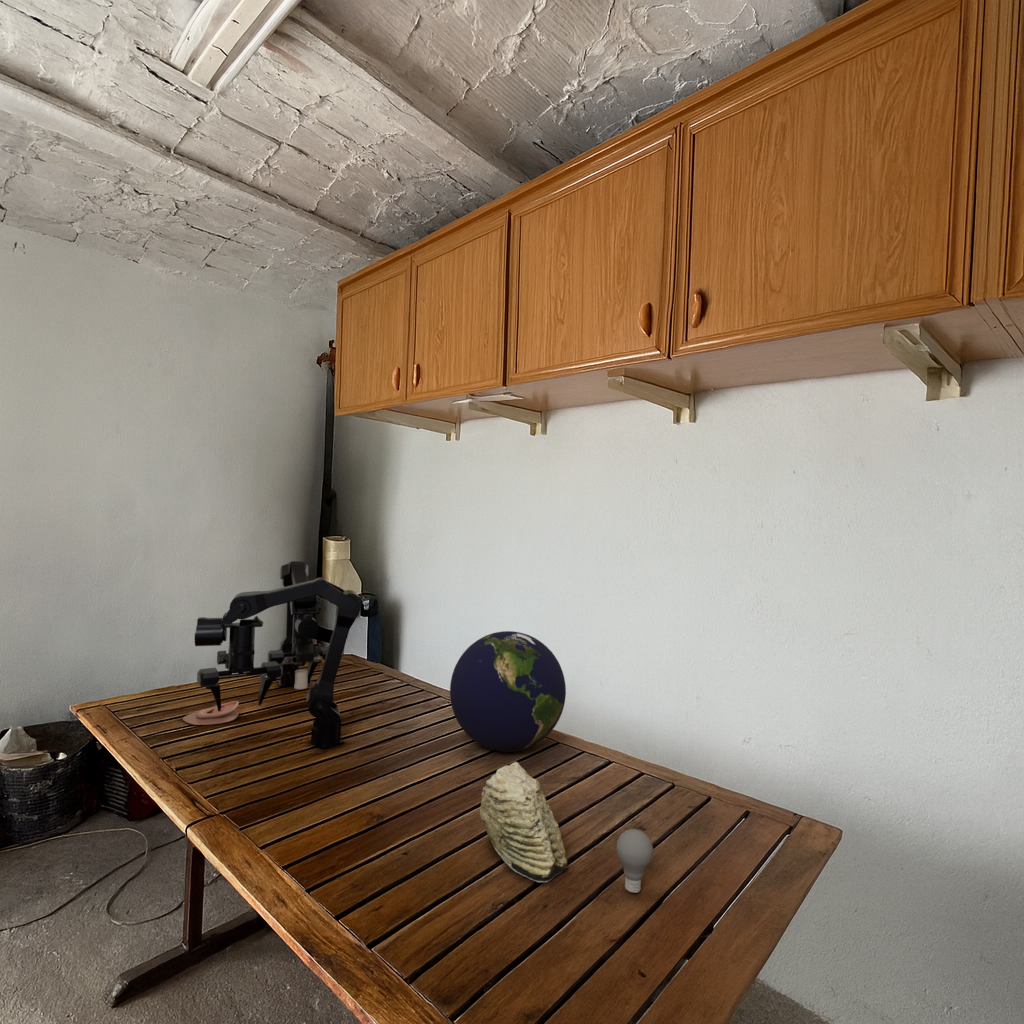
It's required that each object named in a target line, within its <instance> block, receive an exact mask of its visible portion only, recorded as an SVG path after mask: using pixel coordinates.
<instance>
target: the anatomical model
mask: <svg viewBox="0 0 1024 1024" xmlns="http://www.w3.org/2000/svg"><path fill="white" fill-rule="evenodd" d="M239 705H240V702H239V701H238V700H235V701H229V702H225V703H221V711H218V708H217V705H214V706H211V707H208V708H204V709H203V708H202V709H200V710H198V711H195V712H193V713H189V714H187V715H185V716H183V718H182V721H184V722H185V723H187V724H190V725H195V726H207V725H217V724H218V725H219V724H224V723H229V722H232V721H234V720H235V719H237V718H238V716H239V712H238V711H236V710H237V709H238V707H239Z"/></svg>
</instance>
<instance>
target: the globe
mask: <svg viewBox="0 0 1024 1024" xmlns="http://www.w3.org/2000/svg"><path fill="white" fill-rule="evenodd" d="M563 671H564V670H562V666H561V664H560V662H559V660H558V659H557V657H556V656H555V654H554V652H553V651H552V650H551V649H550V648H549V647H548V646H546V644H544V643H543V642H542V641H540V640H539V639H537V637H534V636H532V635H530V634H527V633H523V632H519V631H511V630H509V631H508V630H505V631H496V632H492V633H489V634H485V635H484V636H483V637H480V638H479V639H477V640H476V641H474V642H473V643H471V644H470V645H469V646H468V647H467V648H466V649H465V650H464V651H463V652H462V654H461V655H460V656H459V659H458V660H457V662H456V664H455V666H454V669H453V672H452V675H451V679H450V683H449V684H450V685H449V699H450V704H451V709H452V712H453V714H454V718H455V719H456V721H457V723H458V725H459V726H460V728H461V729H462V731H464V732H465V734H466V735H467V736H468V737H469V738H471V739H472V740H473V741H474V742H476V743H477V744H478V745H480V746H481V747H485V748H487V749H489V750H493V751H496V752H504V753H509V752H510V753H511V752H519V751H524V750H526V749H529V748H531V747H534V746H535V745H537V744H538V743H540V742H542V741H543V740H544V739H545V738H546V737H547V736H549V734H550V733H551V732H552V731H553V730H554V728H555V727H556V726H557V724H558V723H559V721H560V719H561V717H562V713H563V711H564V708H565V703H566V695H567V686H566V679H565V676H564V672H563Z"/></svg>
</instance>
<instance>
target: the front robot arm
mask: <svg viewBox="0 0 1024 1024" xmlns="http://www.w3.org/2000/svg"><path fill="white" fill-rule="evenodd" d="M316 595H318V596H319V597H322V598H323V599H324V600H326V601H328V602H330V603H331V604H332V605H334V606H336V607H335V618H334V627H333V629H332V633H331V637H330V640H329V643H328V646H327V647H328V650H327V653H326V657H325V660H324V659H323V660H324V661H323V662H322V663H323V664H322V667H321V669H320V673H319V676H318V678H317V680H316V681H312V680H310V682H309V690H308V692H306V693H307V694H305V698H306V699H305V700H306V701H305V702H306V704H307V708H308V712H309V714H310V715H311V716H312V717H314V718H315V719H313V721H312V722H313V723H312V727H311V730H310V731H311V732H310V733H311V735H310V739H309V740H308V743H309V744H310V745H313V746H314V747H316V748H318V749H320V750H327V749H329V748H333V747H336V746H340V745H343V744H344V743H345V741H344V740H343V739H341V737H342V735H341V733H342V717H341V713H340V707H339V705H338V704H337V703H336V702H335V701H334V693H335V691H334V690H335V682H336V681H335V680H336V678H337V674H338V671H339V668H340V664H341V660H342V657H343V653H344V650H345V646H346V644H347V639H348V636H349V632H350V629H351V628H352V627H353V625H354V623H355V622H356V620H357V619H358V616H359V614H360V611H361V610H362V607H363V604H362V603H363V602H362V600H361V598H360V596H359V594H358V592H356V591H354V590H352V589H346V590H345V589H343V588H341V587H340V586H338V585H336V584H334V583H331V582H330V581H328V580H327V579H326V578H324V577H317V578H315V579H312V580H311V579H310V580H308V581H307V582H303V583H299V584H295V585H291V586H287V587H283V586H282V587H279V588H274V589H271V590H254V591H242V592H240V593H237V594H236V595H234V596H233V598H232V600H231V601H230V603H229V610H227V612H225V613H224V614H223V615H222V617H205V616H201V617H198V618H197V619H196V628H195V632H194V646H195V647H215V646H218V647H219V646H222V644H223V643H224V642H227V639H228V638H229V639H228V640H229V641H228V653H227V650H218V651H217V652H216V664H217V666H219V665H224V668H225V669H226V670H219V671H218V669H217V668H216V667H208V668H207V667H206V668H199V670H198V671H197V673H196V681H197V683H198V685H199V686H200V687H205V689H206V690H210V692H211V693H212V696H213V698H214V702H215V706H217V708H218V711H221V704H222V696H221V685H220V684H219V682H220V680H226V679H227V680H228V679H235V678H244V677H252V676H253V677H254V676H259V687H258V695H257V706H259V707H261V705H262V703H263V701H264V699H265V698H266V695H267V694H268V691H269V689H270V688H271V686H272V684H273V683H274V682H276V681H278V678H281V677H282V676H283V668H282V666H281V665H279V664H278V663H277V662H276V661H273V662H268V661H265V662H262V663H261V665H260V666H257V667H254V666H255V665H254V664H255V652H256V650H255V642H256V641H255V639H256V638H255V637H256V628H262V627H263V626H264V621H263V620H261V619H260V618H259V616H258V614H260V613H262V612H264V611H266V610H268V609H270V608H272V607H276V606H280V605H284V604H286V603H288V602H292V601H296V600H300V599H304V598H308V597H312V596H316ZM253 616H254V617H253ZM251 617H253V618H251ZM238 620H239V622H236V621H238ZM228 629H229V637H228Z"/></svg>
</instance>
